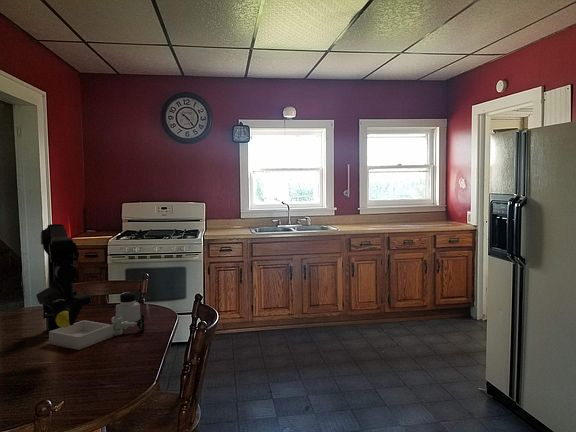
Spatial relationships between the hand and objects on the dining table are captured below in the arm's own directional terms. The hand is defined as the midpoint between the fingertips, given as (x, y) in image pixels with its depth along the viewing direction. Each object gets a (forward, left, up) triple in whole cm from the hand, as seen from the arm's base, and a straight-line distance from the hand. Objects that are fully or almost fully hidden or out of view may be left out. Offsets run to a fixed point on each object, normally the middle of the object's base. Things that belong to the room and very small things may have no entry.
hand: (64, 323), depth 145 cm
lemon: (0, 0, -1) cm, 1 cm away
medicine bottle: (-10, +38, -11) cm, 41 cm away
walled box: (-8, +13, -11) cm, 19 cm away
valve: (+1, +26, -11) cm, 29 cm away
